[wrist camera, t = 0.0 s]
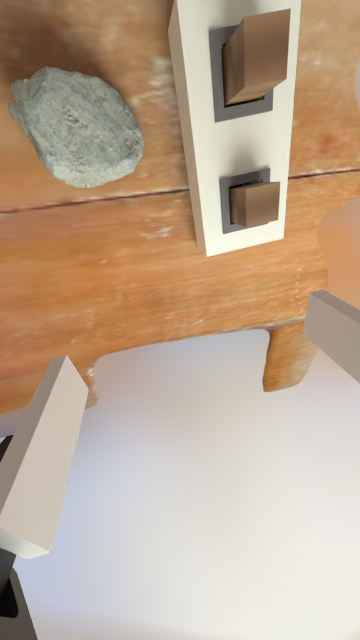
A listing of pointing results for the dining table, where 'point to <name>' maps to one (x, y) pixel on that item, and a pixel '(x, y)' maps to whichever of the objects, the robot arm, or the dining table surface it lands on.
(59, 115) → the decorative stone
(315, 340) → the robot arm
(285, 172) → the socket block
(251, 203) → the peg
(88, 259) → the dining table surface
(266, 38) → the peg
